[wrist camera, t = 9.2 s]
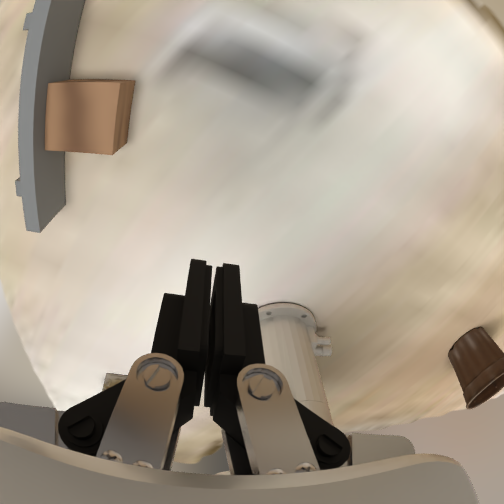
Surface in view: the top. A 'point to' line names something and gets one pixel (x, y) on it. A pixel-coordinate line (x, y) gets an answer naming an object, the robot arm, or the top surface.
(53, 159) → the board
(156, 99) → the top surface
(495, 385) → the plant pot
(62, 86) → the walnut block
